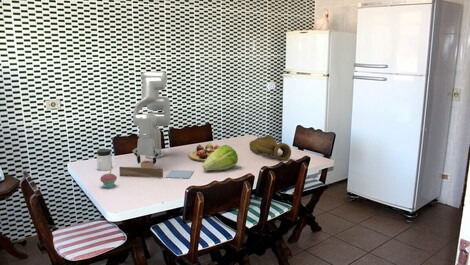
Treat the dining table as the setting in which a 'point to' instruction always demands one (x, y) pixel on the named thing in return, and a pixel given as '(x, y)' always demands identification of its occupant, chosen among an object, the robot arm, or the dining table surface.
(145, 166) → the lettered cube
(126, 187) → the dining table surface
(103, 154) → the jar
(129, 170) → the walnut screen
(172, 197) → the dining table surface
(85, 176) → the dining table surface
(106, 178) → the cupcake
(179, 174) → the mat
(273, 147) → the brown looped sculpture
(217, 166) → the lettuce
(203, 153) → the wooden plate with food
